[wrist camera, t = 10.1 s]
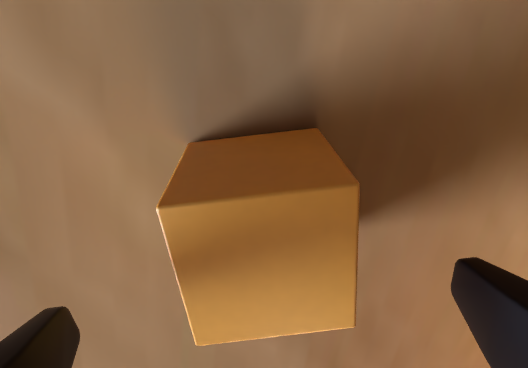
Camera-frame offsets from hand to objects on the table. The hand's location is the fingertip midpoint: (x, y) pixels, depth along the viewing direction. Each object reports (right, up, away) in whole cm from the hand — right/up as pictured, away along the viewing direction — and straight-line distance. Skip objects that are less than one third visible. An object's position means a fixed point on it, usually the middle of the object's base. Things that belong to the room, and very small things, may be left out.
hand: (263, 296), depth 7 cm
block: (0, +2, +5) cm, 5 cm away
